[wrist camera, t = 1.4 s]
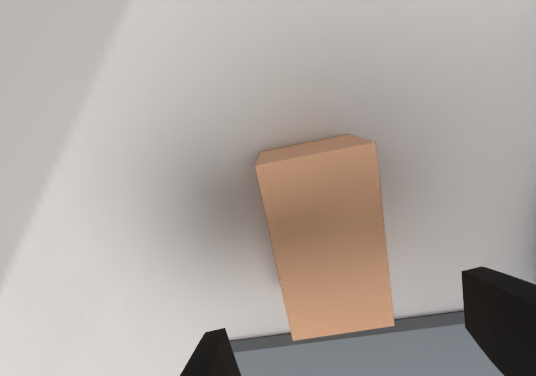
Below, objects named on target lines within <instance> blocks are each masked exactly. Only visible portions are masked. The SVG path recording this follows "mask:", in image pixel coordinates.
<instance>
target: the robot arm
mask: <svg viewBox="0 0 536 376" xmlns="http://www.w3.org/2000/svg"><path fill="white" fill-rule="evenodd" d="M462 285H463V301H464V318H465V328H466V329H467V331H468V332H469V333H470V335H471V336H472V337H473V339H474V340H475V341H476V343H477V344H478V345H479V347H480V348H481V349H482V351H483V352H484V353H485V354H486V356H487V357H488V358H489V359H490V361H491V362H492V363H493V364H494V365H495V366H496V367H497V368H498V370H499V371H500V372H501V373H502V374H503V375H504V376H536V285H535V284H532V283H529V282H527V281H524V280H521V279H518V278H515V277H512V276H510V275H507V274H504V273H501V272H498V271H495V270H492V269H489V268H485V267H478V268H474V269H470V270H466V271H462ZM180 376H241V373H240V371H239V368H238V365H237V362H236V359H235V356H234V353H233V350H232V347H231V344H230V341H229V338H228V336H227V333H226V330H225V328H223V329H218V330H214V331H210V332H206V333H205V334H204V335H203V337H202V339H201V340H200V342H199V344H198V345H197V347H196V349H195V351H194V352H193V354H192V356H191V358H190V359H189V361H188V363H187V365H186V366H185V368H184V370H183V371H182V373H181V375H180Z"/></svg>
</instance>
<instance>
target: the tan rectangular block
mask: <svg viewBox="0 0 536 376" xmlns="http://www.w3.org/2000/svg"><path fill="white" fill-rule="evenodd" d="M255 168H256V173H257V178H258V182H259V187H260V192H261V196H262V201H263V206H264V210H265V215H266V219H267V224H268V229H269V233H270V238H271V243H272V247H273V252H274V256H275V261H276V266H277V270H278V275H279V280H280V284H281V289H282V293H283V298H284V303H285V307H286V312H287V317H288V321H289V326H290V330H291V335H292V340H293V341H296V340H303V339H309V338H316V337H323V336H329V335H336V334H343V333H349V332H356V331H363V330H369V329H376V328H383V327H390V326H395V325H394V316H393V306H392V296H391V287H390V277H389V267H388V258H387V248H386V238H385V229H384V219H383V209H382V200H381V190H380V180H379V171H378V161H377V151H376V142H373V141H370V140H366V139H363V138H359V137H356V136H352V135H349V134H348V135H343V136H338V137H332V138H327V139H322V140H317V141H312V142H307V143H302V144H297V145H292V146H287V147H282V148H277V149H272V150H267V151H262V152H260V153H259V156H258V159H257V161H256V164H255Z"/></svg>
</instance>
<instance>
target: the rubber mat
mask: <svg viewBox="0 0 536 376" xmlns="http://www.w3.org/2000/svg"><path fill="white" fill-rule="evenodd" d="M394 325H395V326H390V327H383V328H376V329H369V330H363V331H356V332H349V333H343V334H336V335H329V336H323V337H316V338H309V339H303V340H296V341H293V340H292V335H291V334H283V335H275V336H268V337H260V338H252V339H244V340H237V341H230V344H231V347H232V350H233V353H234V356H235V359H236V362H237V365H238V368H239V371H240V373H241V376H504V375H503V374H502V373H501V372H500V371H499V370H498V368H497V367H496V366H495V365H494V364H493V363H492V362H491V361H490V359H489V358H488V357H487V356H486V354H485V353H484V352H483V351H482V349H481V348H480V347H479V345H478V344H477V343H476V341H475V340H474V339H473V337H472V336H471V335H470V333H469V332H468V331H467V329H466V328H465V318H464V311H462V312H454V313H446V314H439V315H431V316H423V317H415V318H407V319H400V320H394Z"/></svg>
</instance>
